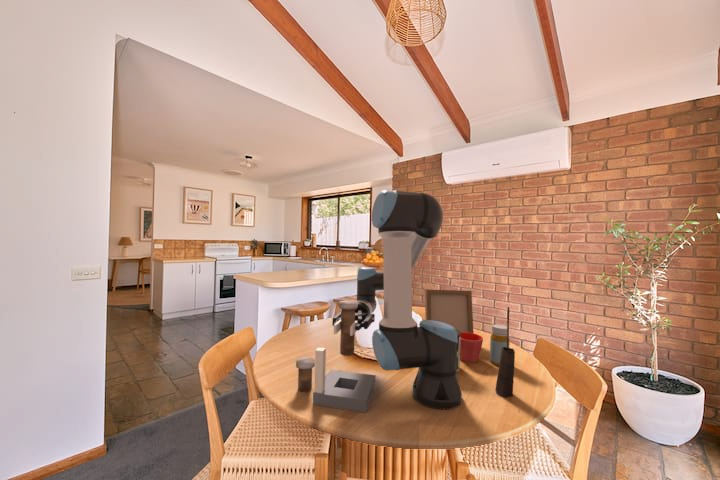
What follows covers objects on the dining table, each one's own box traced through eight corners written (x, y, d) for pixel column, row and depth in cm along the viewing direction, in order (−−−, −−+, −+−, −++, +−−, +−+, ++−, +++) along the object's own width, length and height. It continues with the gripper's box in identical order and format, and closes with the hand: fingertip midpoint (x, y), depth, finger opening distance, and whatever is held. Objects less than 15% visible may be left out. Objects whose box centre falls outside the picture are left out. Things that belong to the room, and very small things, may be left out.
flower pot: (488, 362, 121) (489, 338, 121) (467, 366, 117) (467, 341, 117) (470, 352, 131) (470, 330, 131) (449, 355, 127) (450, 333, 127)
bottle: (489, 364, 119) (490, 327, 119) (490, 358, 125) (491, 323, 125) (508, 368, 116) (509, 330, 116) (508, 361, 122) (509, 325, 122)
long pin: (360, 353, 93) (361, 303, 93) (345, 358, 89) (347, 305, 89) (348, 348, 98) (349, 299, 98) (333, 352, 94) (335, 302, 94)
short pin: (317, 389, 97) (318, 361, 96) (301, 395, 92) (302, 366, 92) (307, 382, 101) (308, 355, 101) (292, 387, 97) (292, 360, 97)
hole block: (375, 385, 100) (376, 338, 99) (365, 412, 84) (367, 356, 84) (330, 379, 103) (331, 333, 103) (312, 404, 88) (314, 350, 87)
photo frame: (473, 346, 140) (475, 293, 140) (427, 344, 140) (428, 291, 140) (464, 335, 155) (465, 287, 154) (422, 334, 155) (423, 286, 155)
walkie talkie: (521, 406, 89) (523, 313, 89) (487, 396, 94) (489, 309, 94) (523, 393, 97) (525, 308, 97) (491, 385, 102) (494, 304, 102)
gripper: (383, 323, 109) (371, 346, 86) (337, 319, 113) (315, 339, 90) (383, 303, 109) (372, 320, 86) (338, 300, 113) (315, 315, 90)
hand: (343, 330), depth 88 cm, fingers closed on long pin, 4 cm apart
